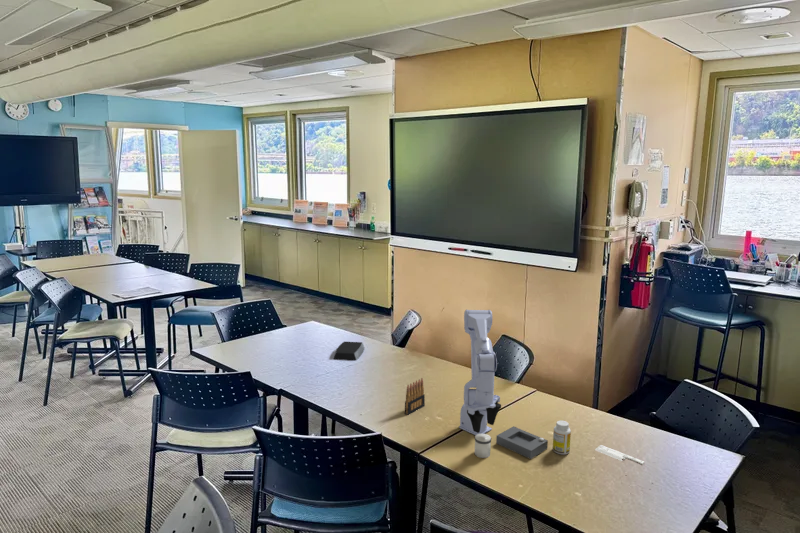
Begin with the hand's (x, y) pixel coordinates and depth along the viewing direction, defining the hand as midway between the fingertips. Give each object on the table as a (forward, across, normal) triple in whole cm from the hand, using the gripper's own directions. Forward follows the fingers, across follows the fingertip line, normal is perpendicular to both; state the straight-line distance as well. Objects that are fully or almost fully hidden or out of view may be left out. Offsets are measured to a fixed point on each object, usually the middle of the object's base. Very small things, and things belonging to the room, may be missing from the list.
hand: (483, 427), depth 181 cm
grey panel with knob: (+9, +14, -6) cm, 18 cm away
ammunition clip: (+10, +7, +39) cm, 41 cm away
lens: (+10, 0, 0) cm, 10 cm away
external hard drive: (+10, +29, +108) cm, 112 cm away
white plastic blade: (+10, +32, -32) cm, 46 cm away
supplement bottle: (+10, +21, -17) cm, 29 cm away
